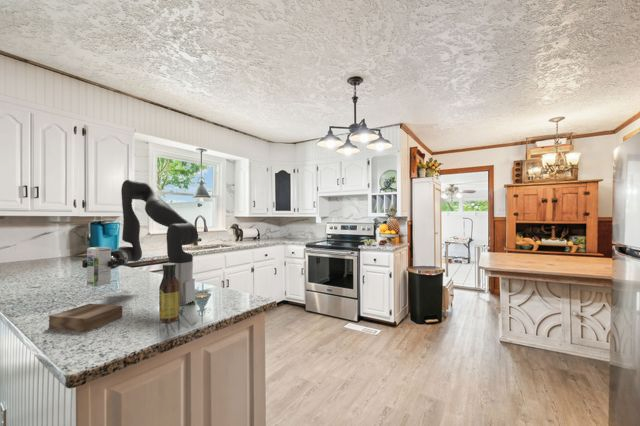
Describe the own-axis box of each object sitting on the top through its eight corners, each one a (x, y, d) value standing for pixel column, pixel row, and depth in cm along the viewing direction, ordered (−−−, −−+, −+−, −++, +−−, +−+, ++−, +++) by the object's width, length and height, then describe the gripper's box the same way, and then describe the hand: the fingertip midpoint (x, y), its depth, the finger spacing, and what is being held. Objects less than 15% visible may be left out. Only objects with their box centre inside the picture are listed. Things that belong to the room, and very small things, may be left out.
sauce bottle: (163, 317, 107) (164, 262, 107) (181, 317, 108) (182, 262, 108) (155, 324, 100) (156, 265, 101) (174, 323, 101) (175, 264, 101)
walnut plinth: (122, 316, 108) (122, 305, 108) (85, 331, 94) (85, 318, 94) (89, 314, 110) (89, 303, 110) (48, 328, 96) (49, 315, 96)
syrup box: (85, 285, 114) (86, 247, 114) (102, 282, 120) (102, 246, 120) (95, 287, 112) (95, 248, 112) (111, 283, 117) (111, 246, 117)
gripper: (96, 250, 128) (74, 255, 112) (133, 249, 131) (117, 254, 116) (95, 268, 128) (74, 275, 112) (133, 266, 131) (117, 273, 116)
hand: (96, 264), depth 114 cm, fingers closed on syrup box, 7 cm apart
